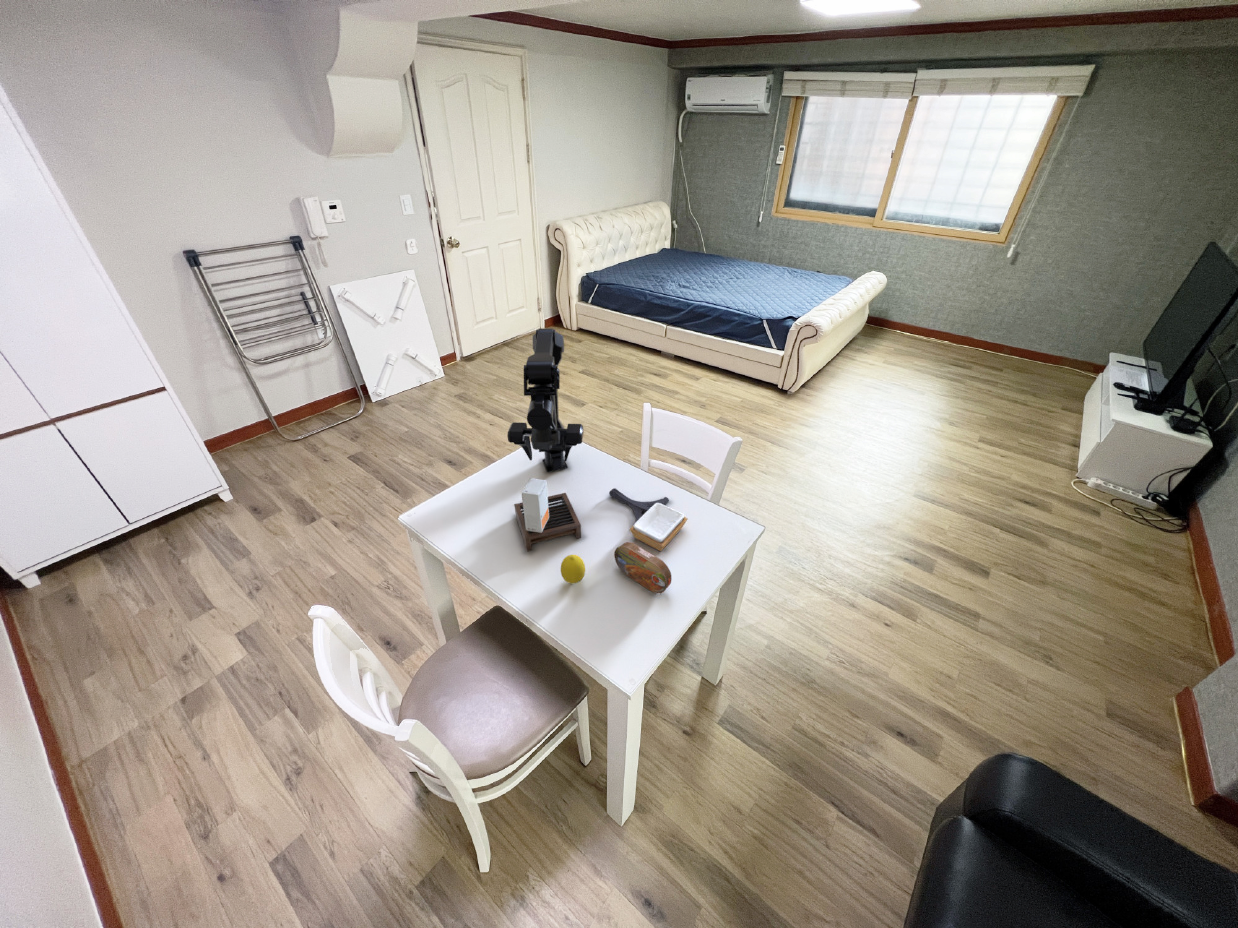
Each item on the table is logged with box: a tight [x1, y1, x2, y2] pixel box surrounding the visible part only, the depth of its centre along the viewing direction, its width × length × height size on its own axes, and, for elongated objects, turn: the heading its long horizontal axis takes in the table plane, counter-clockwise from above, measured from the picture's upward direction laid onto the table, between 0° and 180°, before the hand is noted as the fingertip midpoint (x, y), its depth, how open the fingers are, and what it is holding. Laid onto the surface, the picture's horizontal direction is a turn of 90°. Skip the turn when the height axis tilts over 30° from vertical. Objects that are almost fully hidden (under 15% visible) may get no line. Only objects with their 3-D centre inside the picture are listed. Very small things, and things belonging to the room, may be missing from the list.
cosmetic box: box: [521, 477, 549, 533], centre depth 118 cm, size 6×4×12 cm
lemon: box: [560, 554, 586, 585], centre depth 111 cm, size 6×6×8 cm
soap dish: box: [629, 503, 688, 552], centre depth 124 cm, size 12×10×5 cm
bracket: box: [608, 487, 669, 524], centre depth 134 cm, size 14×15×3 cm
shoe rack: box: [513, 492, 582, 552], centre depth 126 cm, size 14×14×4 cm
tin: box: [613, 541, 673, 594], centre depth 111 cm, size 15×3×8 cm, turn 49°
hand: (548, 460), depth 130 cm, fingers open, 9 cm apart
